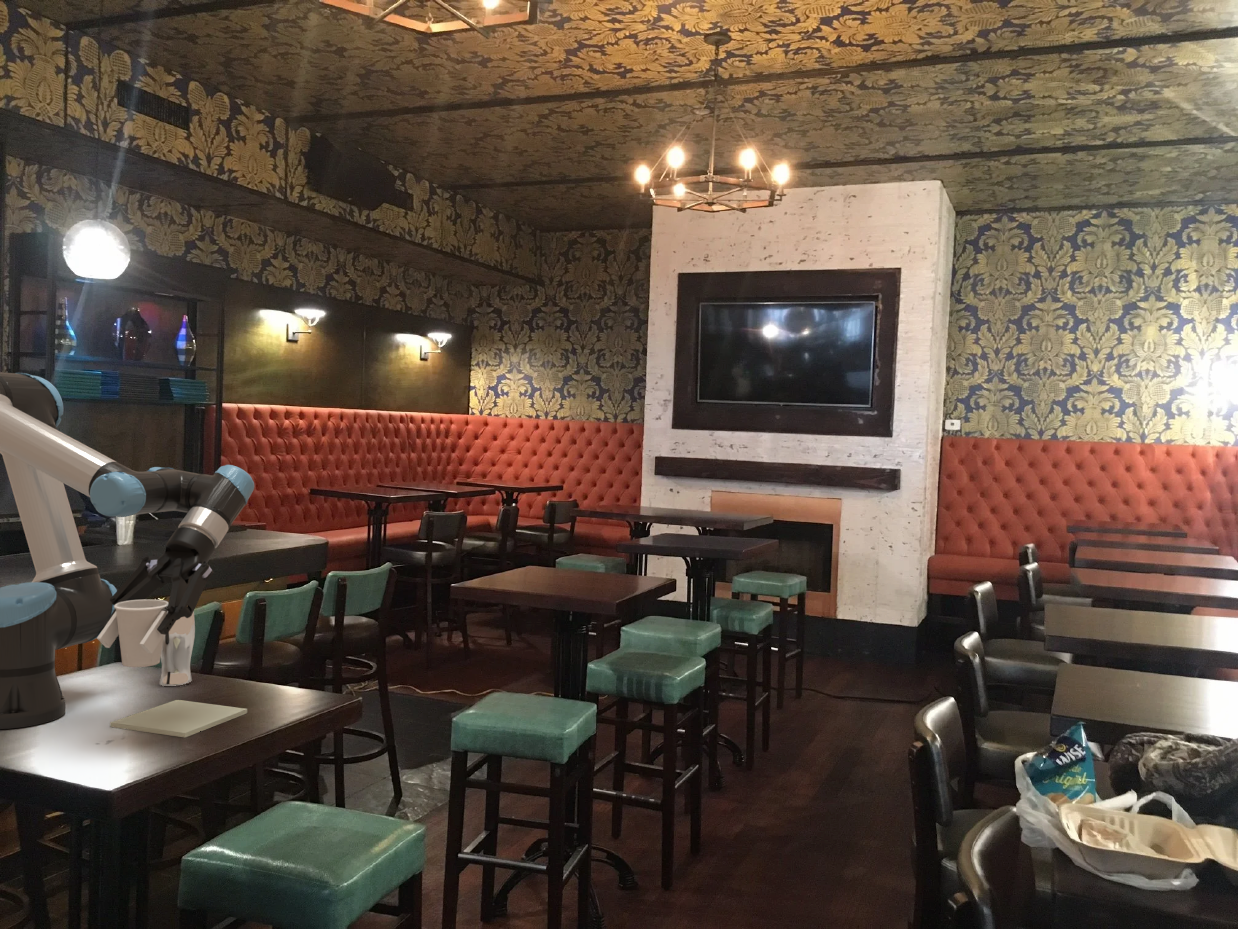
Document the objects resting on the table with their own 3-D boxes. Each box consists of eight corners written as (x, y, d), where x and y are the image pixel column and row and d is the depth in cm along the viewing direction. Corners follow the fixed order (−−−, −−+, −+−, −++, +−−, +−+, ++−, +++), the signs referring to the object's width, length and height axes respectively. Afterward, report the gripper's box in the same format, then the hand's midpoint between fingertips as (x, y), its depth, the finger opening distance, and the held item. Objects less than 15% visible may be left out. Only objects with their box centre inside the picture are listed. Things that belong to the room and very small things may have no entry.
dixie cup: (149, 654, 171) (151, 597, 171) (178, 662, 167) (180, 603, 166) (102, 663, 164) (103, 603, 164) (131, 671, 160) (132, 610, 159)
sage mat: (110, 726, 174) (110, 722, 174) (176, 703, 189) (176, 699, 189) (185, 737, 169) (185, 733, 169) (247, 713, 184) (247, 708, 184)
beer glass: (180, 689, 199) (181, 615, 199) (149, 686, 201) (150, 612, 200) (201, 680, 206) (202, 609, 206) (171, 678, 208) (172, 607, 207)
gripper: (255, 556, 176) (187, 665, 161) (159, 547, 182) (86, 652, 168) (235, 529, 171) (164, 639, 156) (138, 521, 177) (61, 626, 162)
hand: (124, 645), depth 162 cm, fingers closed on dixie cup, 8 cm apart
